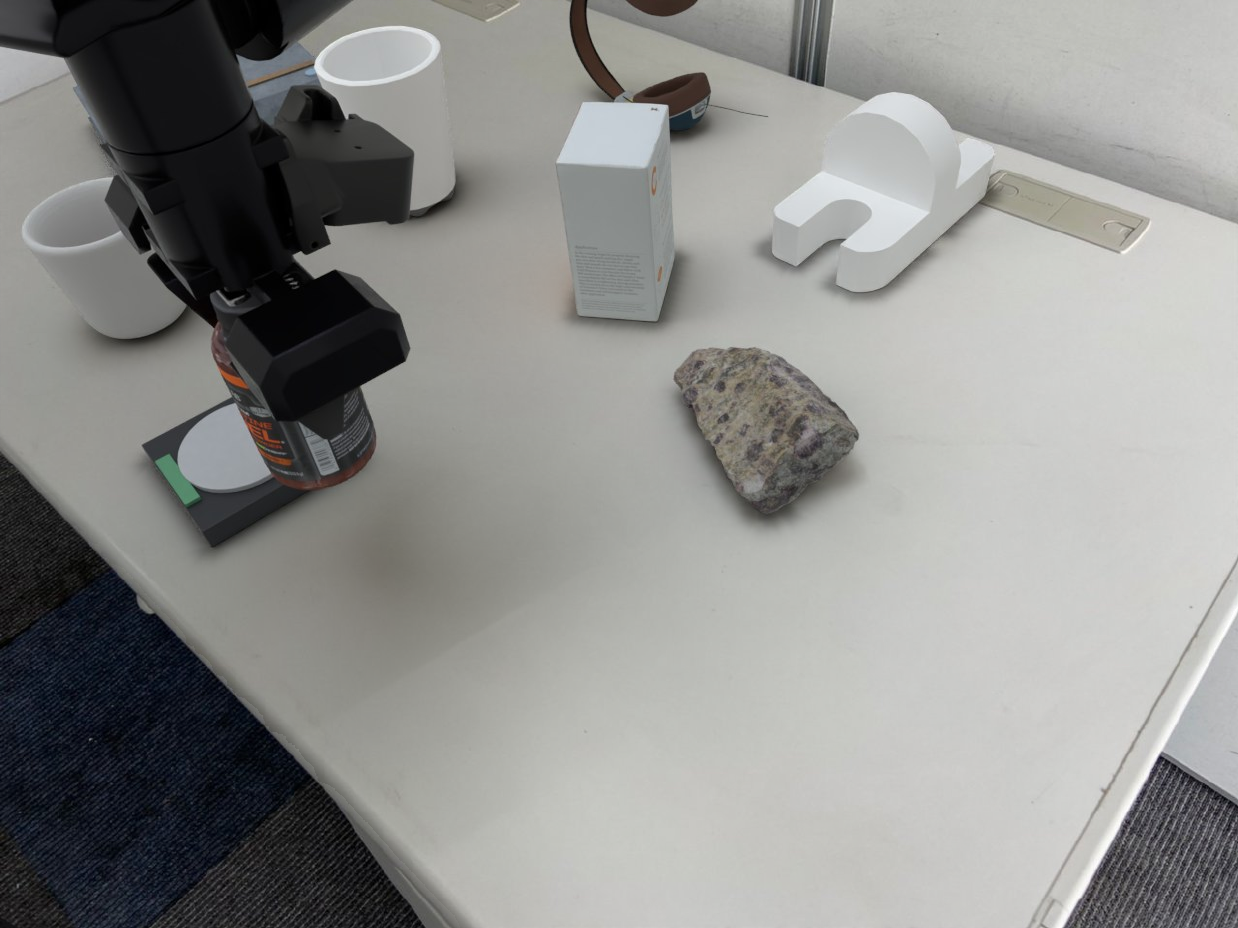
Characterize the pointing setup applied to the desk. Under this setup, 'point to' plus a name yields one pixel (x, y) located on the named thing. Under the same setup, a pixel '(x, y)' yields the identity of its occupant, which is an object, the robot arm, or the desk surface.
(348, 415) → the supplement bottle
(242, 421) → the scale
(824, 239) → the slotted bracket
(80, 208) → the cup
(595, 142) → the small box
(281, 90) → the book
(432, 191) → the cup
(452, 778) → the desk surface
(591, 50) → the headphones
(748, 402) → the rock
